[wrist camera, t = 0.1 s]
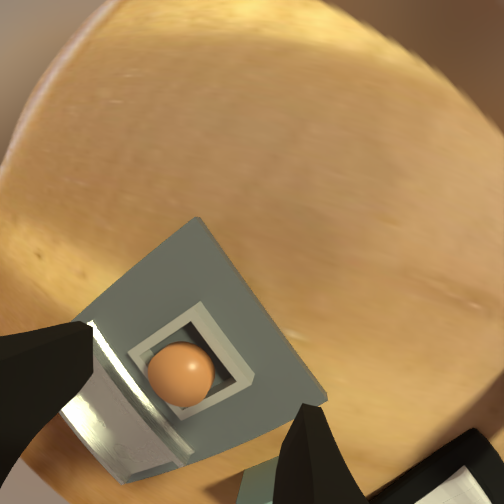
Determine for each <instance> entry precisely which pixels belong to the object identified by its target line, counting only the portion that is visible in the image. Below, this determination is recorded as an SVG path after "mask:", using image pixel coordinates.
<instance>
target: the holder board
mask: <svg viewBox="0 0 504 504" xmlns="http://www.w3.org/2000/svg"><path fill="white" fill-rule="evenodd" d="M200 301H201V302H202V304H203V305H204V307H205V308H206V309H207V311H208V312H209V314H210V315H211V316H212V318H213V319H214V320H215V322H216V323H217V325H218V326H219V327H220V329H221V330H222V331H223V333H224V334H225V335H226V337H227V338H228V339H229V341H230V342H231V343H232V345H233V346H234V347H235V349H236V350H237V351H238V353H239V354H240V355H241V357H242V358H243V359H244V361H245V362H246V363H247V364H248V366H249V367H250V368H251V370H252V371H253V372H254V373H255V375H254V378H253V382H252V385H250V386H248V387H246V388H245V389H243V390H241V391H239V392H237V393H235V394H234V395H232V396H230V397H228V398H226V399H224V400H222V401H220V402H218V403H216V404H214V405H212V406H210V407H208V408H206V409H204V410H202V411H200V412H198V413H196V414H194V415H192V416H190V417H188V418H186V419H184V420H182V421H181V420H180V419H179V418H178V416H177V415H176V414H175V413H174V412H173V411H172V409H171V408H170V407H169V406H168V405H167V403H166V402H165V401H164V400H163V399H161V398H160V397H159V396H158V395H157V394H156V393H155V391H154V390H153V388H152V387H151V385H150V382H149V381H148V379H147V378H146V377H145V376H144V374H143V373H142V372H141V370H140V369H139V368H138V366H137V365H136V363H135V362H134V361H133V359H132V358H131V357H130V355H129V354H128V351H129V350H131V349H132V348H134V347H135V346H137V345H138V344H139V343H141V342H142V341H144V340H145V339H147V338H148V337H150V336H151V335H152V334H154V333H155V332H157V331H158V330H160V329H161V328H162V327H164V326H165V325H167V324H168V323H170V322H171V321H173V320H174V319H175V318H177V317H178V316H180V315H181V314H183V313H184V312H185V311H187V310H188V309H190V308H191V307H193V306H194V305H195V304H197V303H198V302H200ZM93 319H94V320H95V321H96V323H97V324H98V326H99V327H100V329H101V330H102V332H103V333H104V335H105V337H106V338H107V340H108V341H109V342H110V344H111V345H112V347H113V348H114V350H115V351H116V353H117V354H118V356H119V357H120V358H121V360H122V361H123V363H124V364H125V365H126V367H127V368H128V369H129V371H130V372H131V374H132V375H133V376H134V378H135V379H136V380H137V381H138V383H139V384H140V385H141V387H142V388H143V389H144V391H145V392H146V393H147V394H148V396H149V397H150V398H151V399H152V401H153V402H154V403H155V404H156V405H157V407H158V408H159V409H160V410H161V412H162V413H163V414H164V415H165V416H166V417H167V419H168V420H169V421H170V422H171V423H172V424H173V426H174V427H175V428H176V429H177V430H178V431H179V432H180V433H181V435H182V436H183V437H184V438H185V439H186V440H187V441H188V442H189V443H190V444H191V445H192V446H193V448H194V449H195V450H196V451H195V453H192V454H191V456H190V458H189V460H188V462H187V464H186V466H187V465H189V464H192V463H195V462H198V461H200V460H203V459H206V458H208V457H211V456H214V455H216V454H219V453H221V452H224V451H226V450H229V449H231V448H233V447H236V446H238V445H240V444H243V443H245V442H247V441H250V440H252V439H254V438H256V437H258V436H261V435H263V434H265V433H267V432H269V431H271V430H273V429H275V428H277V427H279V426H281V425H283V424H285V423H287V422H289V421H291V420H293V419H295V417H296V415H297V413H298V411H299V409H300V407H301V405H302V403H304V404H309V405H313V406H319V405H321V404H323V403H324V402H326V401H328V398H327V393H326V392H325V390H324V389H323V388H322V386H321V385H320V383H319V382H318V381H317V379H316V378H315V377H314V375H313V374H312V373H311V371H310V370H309V369H308V367H307V366H306V365H305V363H304V362H303V361H302V359H301V358H300V357H299V355H298V354H297V352H296V351H295V350H294V348H293V347H292V346H291V344H290V343H289V342H288V340H287V339H286V337H285V336H284V335H283V333H282V332H281V331H280V329H279V328H278V326H277V325H276V324H275V322H274V321H273V320H272V318H271V317H270V315H269V314H268V313H267V311H266V310H265V308H264V307H263V306H262V304H261V303H260V302H259V300H258V299H257V297H256V296H255V295H254V293H253V292H252V290H251V289H250V288H249V286H248V285H247V283H246V282H245V281H244V279H243V278H242V276H241V275H240V274H239V272H238V271H237V269H236V268H235V267H234V265H233V264H232V262H231V261H230V259H229V258H228V257H227V255H226V254H225V252H224V251H223V249H222V248H221V247H220V245H219V244H218V242H217V241H216V240H215V238H214V237H213V235H212V234H211V232H210V231H209V229H208V228H207V227H206V225H205V224H204V222H203V221H202V219H201V218H200V217H194V218H193V219H192V220H190V221H189V222H188V223H186V224H185V225H184V226H183V227H181V228H180V229H179V230H178V231H176V232H175V233H174V234H173V235H171V236H170V237H169V238H168V239H166V240H165V241H164V242H163V243H161V244H160V245H159V246H158V247H157V248H155V249H154V250H153V251H152V252H150V253H149V254H148V255H147V256H146V257H144V258H143V259H142V260H141V261H140V262H138V263H137V264H136V265H135V266H134V267H132V268H131V269H130V270H129V271H128V272H126V273H125V274H124V275H123V276H122V277H121V278H119V279H118V280H117V281H116V282H115V283H114V284H112V285H111V286H110V287H109V288H108V289H107V290H106V291H104V292H103V293H102V294H101V295H100V296H99V297H98V298H96V299H95V300H94V301H93V302H92V303H91V304H90V305H89V306H87V307H86V308H85V309H84V310H83V311H82V312H81V313H80V314H79V315H77V316H76V317H75V318H74V319H73V320H72V321H71V322H75V321H81V322H83V323H85V324H87V323H89V322H90V321H91V320H93ZM177 341H185V342H190V343H193V344H195V345H197V346H199V347H200V348H202V349H203V350H204V351H205V352H206V353H207V354H208V355H209V357H210V358H211V360H212V362H213V364H214V368H215V379H214V382H213V384H212V386H211V388H212V387H214V386H216V385H218V384H220V383H221V382H223V381H225V380H227V379H229V378H230V377H232V375H231V373H230V372H229V371H228V370H227V368H226V367H225V366H224V364H223V363H222V362H221V361H220V359H219V358H218V357H217V355H216V354H215V353H214V351H213V350H212V349H211V347H210V346H209V345H208V343H207V342H206V341H205V339H204V338H203V337H202V335H201V334H200V333H199V331H198V330H197V329H196V327H195V326H194V324H193V323H192V322H191V321H190V322H189V323H187V324H186V325H184V326H183V327H181V328H180V329H178V330H177V331H175V332H174V333H172V334H171V335H169V336H168V337H166V338H165V339H163V340H162V341H160V342H159V343H157V344H156V345H154V346H153V347H151V348H150V350H151V351H152V353H153V354H154V355H156V354H157V353H159V352H160V351H161V350H162V349H163V348H164V347H166V346H167V345H168V344H170V343H173V342H177ZM211 388H210V389H211ZM183 467H184V466H183ZM178 468H179V467H178V466H177V465H176V464H175V463H174V462H173V461H171V462H168V463H165V464H162V465H159V466H156V467H153V468H150V469H147V470H143V471H140V472H137V473H134V474H132V475H131V477H130V478H129V479H128V481H127V482H126V483H131V482H134V481H138V480H142V479H145V478H149V477H152V476H156V475H159V474H162V473H165V472H169V471H172V470H175V469H178ZM180 468H181V467H180Z"/></svg>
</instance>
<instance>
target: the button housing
mask: <svg viewBox="0 0 504 504" xmlns="http://www.w3.org/2000/svg"><path fill="white" fill-rule="evenodd" d="M190 321H191V322H192V323H193V324H194V326H195V327H196V329H197V330H198V331H199V333H200V334H201V335H202V337H203V338H204V339H205V341H206V342H207V343H208V345H209V346H210V347H211V349H212V350H213V351H214V353H215V354H216V355H217V357H218V358H219V359H220V361H221V362H222V363H223V364H224V366H225V367H226V368H227V370H228V371H229V372H230V373H231V375H232V377H230V378H229V379H227V380H225V381H223V382H221V383H220V384H218V385H216V386H214V387H212V388H211V389H209V391H208V393H207V395H206V396H205V398H204V399H203V400H202V401H201V402H200V403H198V404H197V405H194V406H191V407H178V406H174V405H172V404H169V403H167V402H166V401H165V402H166V403H167V405H168V406H169V407H170V408H171V409H172V411H173V412H174V413H175V414H176V415H177V416H178V418H179V419H180V420H181V421H182V420H184V419H186V418H188V417H190V416H192V415H194V414H196V413H198V412H200V411H202V410H204V409H206V408H208V407H210V406H212V405H214V404H216V403H218V402H220V401H222V400H224V399H226V398H228V397H230V396H232V395H234V394H235V393H237V392H239V391H241V390H243V389H245V388H246V387H248V386H250V385H252V382H253V378H254V375H255V373H254V372H253V371H252V370H251V368H250V367H249V366H248V364H247V363H246V362H245V361H244V359H243V358H242V357H241V355H240V354H239V353H238V351H237V350H236V349H235V347H234V346H233V345H232V343H231V342H230V341H229V339H228V338H227V337H226V335H225V334H224V333H223V331H222V330H221V329H220V327H219V326H218V325H217V323H216V322H215V320H214V319H213V318H212V316H211V315H210V314H209V312H208V311H207V309H206V308H205V307H204V305H203V304H202V302H201V301H200V302H198V303H197V304H195V305H194V306H193V307H191V308H190V309H188V310H187V311H185V312H184V313H183V314H181V315H180V316H178V317H177V318H175V319H174V320H173V321H171V322H170V323H168V324H167V325H165V326H164V327H162V328H161V329H160V330H158V331H157V332H155V333H154V334H152V335H151V336H150V337H148V338H147V339H145V340H144V341H142V342H141V343H139V344H138V345H137V346H135V347H134V348H132V349H131V350H129V351H128V354H129V355H130V357H131V358H132V359H133V361H134V362H135V363H136V365H137V366H138V368H139V369H140V370H141V372H142V373H143V374H144V376H145V377H146V378H147V379H148V366H149V363H150V361H151V359H152V358H153V357H154V356H155V355H154V354H153V353H152V351H151V350H150V348H151V347H153V346H154V345H156V344H157V343H159V342H160V341H162V340H163V339H165V338H166V337H168V336H169V335H171V334H172V333H174V332H175V331H177V330H178V329H180V328H181V327H183V326H184V325H186V324H187V323H189V322H190ZM148 381H149V379H148Z"/></svg>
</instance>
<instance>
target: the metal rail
mask: <svg viewBox="0 0 504 504" xmlns="http://www.w3.org/2000/svg"><path fill="white" fill-rule="evenodd" d="M87 325H89V326H92V327H93V370H94V373H93V374H92V376H91V377H90V378H89V380H88V381H87V382H86V384H85V385H84V386H83V388H82V389H81V390H80V391H79V393H78V394H77V395H76V396H75V397H74V398H73V399H72V400H71V401H70V402H69V403H68V404H67V405H66V406H64V407H63V408H62V409H61V410H60V411H59V413H60V415H61V416H62V417H63V419H64V420H65V421H66V423H67V424H68V425H69V427H70V428H71V429H72V430H73V432H74V433H75V434H76V435H77V437H78V438H79V439H80V440H81V442H82V443H83V444H84V445H85V446H86V448H87V449H88V450H89V451H90V452H91V453H92V454H93V456H94V457H95V458H96V459H97V460H98V461H99V462H100V463H101V464H102V466H103V467H104V468H105V469H106V470H107V471H108V472H109V473H110V474H111V475H112V476H113V477H114V478H115V479H116V480H117V481H118V482H119V483H120V484H121V485H122V484H125V483H126V482H127V481H128V479H129V478H130V477H131V475H132V474H134V473H137V472H140V471H143V470H147V469H150V468H153V467H156V466H159V465H162V464H165V463H168V462H171V461H173V462H174V463H175V464H176V465H177V466H178V467H179V468H180V467H183V466H186V464H187V462H188V460H189V458H190V456H191V454H192V453H195V451H196V450H195V449H194V448H193V446H192V445H191V444H190V443H189V442H188V441H187V440H186V439H185V438H184V437H183V436H182V435H181V433H180V432H179V431H178V430H177V429H176V428H175V427H174V426H173V424H172V423H171V422H170V421H169V420H168V419H167V417H166V416H165V415H164V414H163V413H162V412H161V410H160V409H159V408H158V407H157V405H156V404H155V403H154V402H153V401H152V399H151V398H150V397H149V396H148V394H147V393H146V392H145V391H144V389H143V388H142V387H141V385H140V384H139V383H138V381H137V380H136V379H135V378H134V376H133V375H132V374H131V372H130V371H129V369H128V368H127V367H126V365H125V364H124V363H123V361H122V360H121V358H120V357H119V356H118V354H117V353H116V351H115V350H114V348H113V347H112V345H111V344H110V342H109V341H108V340H107V338H106V337H105V335H104V333H103V332H102V330H101V329H100V327H99V326H98V324H97V323H96V321H95V320H94V319H93V320H91V321H90V322H89V323H87Z"/></svg>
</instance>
